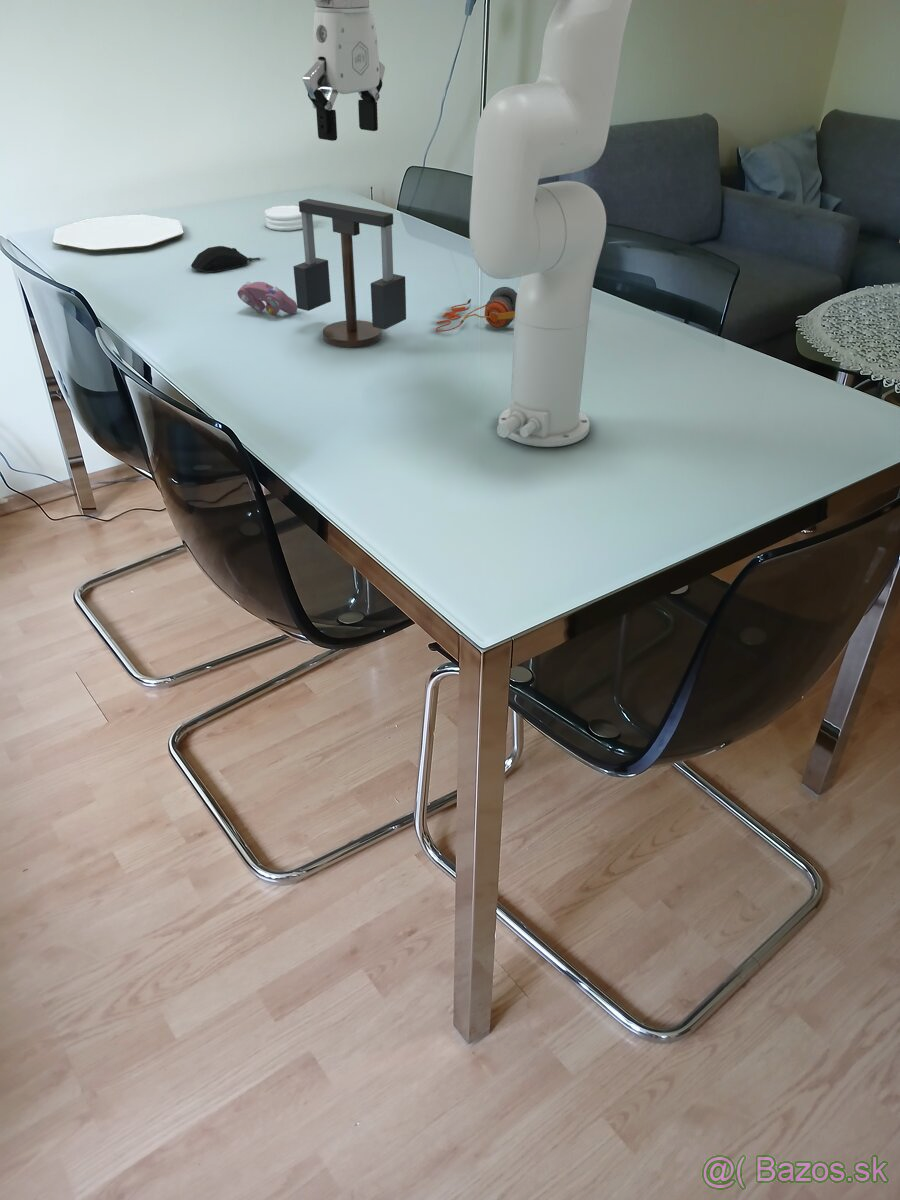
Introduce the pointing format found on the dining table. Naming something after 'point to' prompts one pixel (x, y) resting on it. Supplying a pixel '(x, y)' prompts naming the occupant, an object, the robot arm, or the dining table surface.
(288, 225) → the stack of white coasters
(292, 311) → the video game controller
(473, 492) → the dining table surface
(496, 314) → the headphones
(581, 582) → the dining table surface
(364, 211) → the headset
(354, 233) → the headphone stand
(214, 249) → the gaming mouse
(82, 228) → the plate
